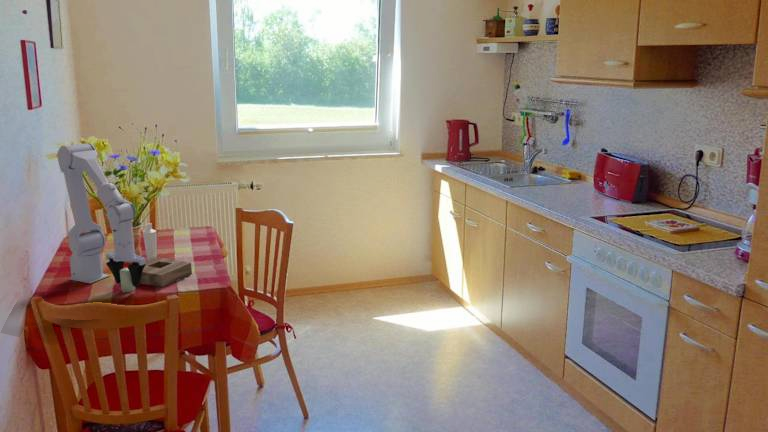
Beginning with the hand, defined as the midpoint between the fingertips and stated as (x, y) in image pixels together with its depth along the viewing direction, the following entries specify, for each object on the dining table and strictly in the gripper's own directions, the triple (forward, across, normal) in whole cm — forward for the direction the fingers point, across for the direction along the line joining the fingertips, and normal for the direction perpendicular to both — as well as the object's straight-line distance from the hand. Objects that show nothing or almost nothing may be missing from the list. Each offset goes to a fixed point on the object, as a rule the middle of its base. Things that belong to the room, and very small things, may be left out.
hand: (128, 283), depth 199 cm
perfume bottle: (+2, -11, +22) cm, 25 cm away
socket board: (+2, 0, +13) cm, 13 cm away
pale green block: (+2, 0, 0) cm, 2 cm away
